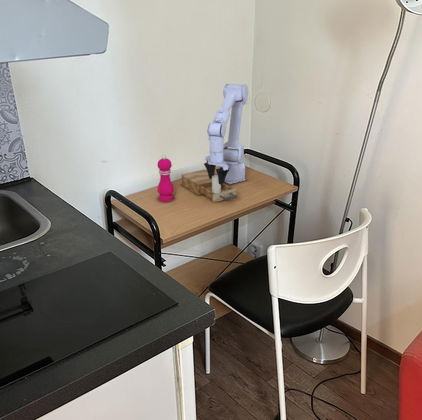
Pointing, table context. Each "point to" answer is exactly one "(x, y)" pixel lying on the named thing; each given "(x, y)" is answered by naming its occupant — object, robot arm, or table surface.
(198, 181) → the cabinet
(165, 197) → the pepper mill
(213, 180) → the spice jar
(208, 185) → the drawer
